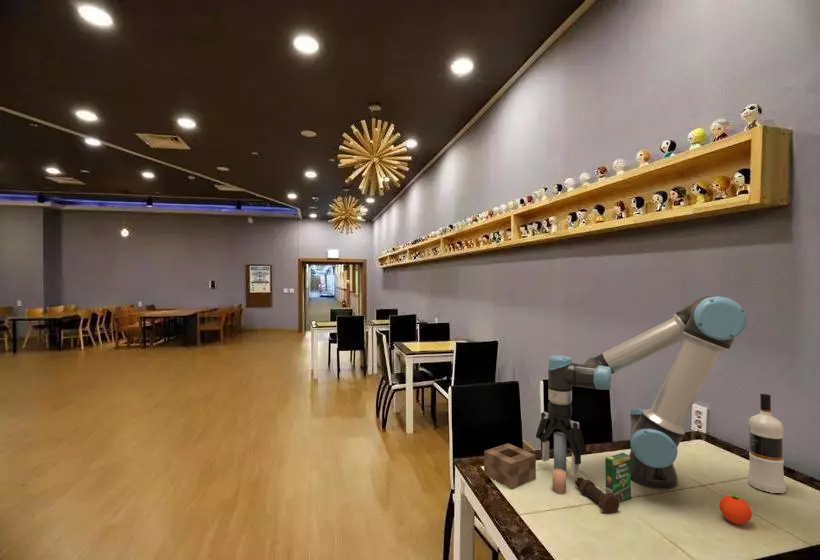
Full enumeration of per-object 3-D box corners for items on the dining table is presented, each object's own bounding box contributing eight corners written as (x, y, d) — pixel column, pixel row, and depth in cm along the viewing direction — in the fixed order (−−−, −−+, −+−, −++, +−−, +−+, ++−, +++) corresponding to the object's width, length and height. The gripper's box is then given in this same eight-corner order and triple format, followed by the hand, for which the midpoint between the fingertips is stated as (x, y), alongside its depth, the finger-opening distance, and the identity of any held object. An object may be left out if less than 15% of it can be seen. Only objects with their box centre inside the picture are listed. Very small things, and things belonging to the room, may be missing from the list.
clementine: (719, 510, 114) (719, 485, 114) (751, 519, 109) (751, 493, 109) (718, 523, 108) (718, 496, 108) (752, 533, 103) (752, 505, 103)
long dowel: (568, 476, 134) (568, 434, 134) (561, 479, 132) (561, 437, 132) (558, 471, 137) (558, 431, 137) (551, 474, 135) (551, 433, 135)
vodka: (781, 498, 120) (779, 399, 121) (742, 485, 128) (741, 392, 129) (790, 490, 125) (789, 395, 126) (753, 478, 133) (752, 388, 134)
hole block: (535, 479, 132) (535, 455, 132) (511, 489, 125) (511, 463, 125) (508, 465, 142) (508, 443, 142) (484, 474, 135) (484, 450, 135)
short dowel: (568, 491, 124) (568, 472, 124) (561, 495, 122) (561, 475, 122) (557, 486, 127) (557, 467, 127) (550, 489, 125) (549, 470, 125)
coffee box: (612, 505, 116) (612, 460, 116) (604, 500, 119) (604, 456, 119) (631, 499, 119) (631, 455, 120) (623, 494, 122) (623, 452, 122)
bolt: (580, 493, 127) (614, 518, 112) (568, 486, 126) (600, 511, 111) (588, 476, 128) (622, 499, 113) (576, 469, 127) (608, 491, 112)
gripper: (525, 395, 142) (525, 457, 142) (585, 412, 123) (585, 483, 123) (538, 392, 146) (538, 452, 146) (598, 408, 127) (598, 477, 127)
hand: (560, 466), depth 134 cm, fingers open, 11 cm apart
